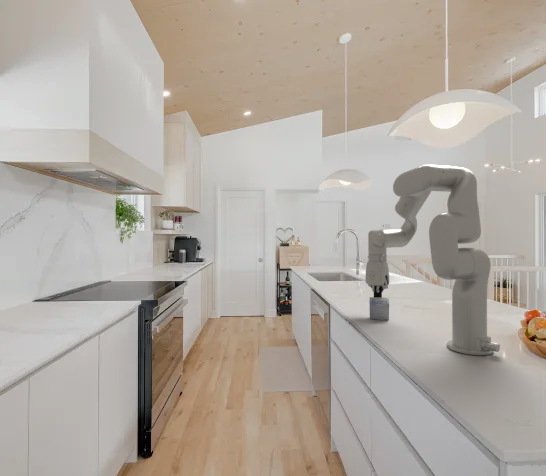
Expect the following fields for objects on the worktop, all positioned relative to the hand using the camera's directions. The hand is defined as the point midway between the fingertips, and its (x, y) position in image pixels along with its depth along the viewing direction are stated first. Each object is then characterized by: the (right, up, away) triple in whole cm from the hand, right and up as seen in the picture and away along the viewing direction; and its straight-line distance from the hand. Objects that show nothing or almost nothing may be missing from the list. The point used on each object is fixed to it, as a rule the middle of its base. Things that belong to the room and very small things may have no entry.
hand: (377, 301), depth 152 cm
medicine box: (0, -7, -1) cm, 7 cm away
